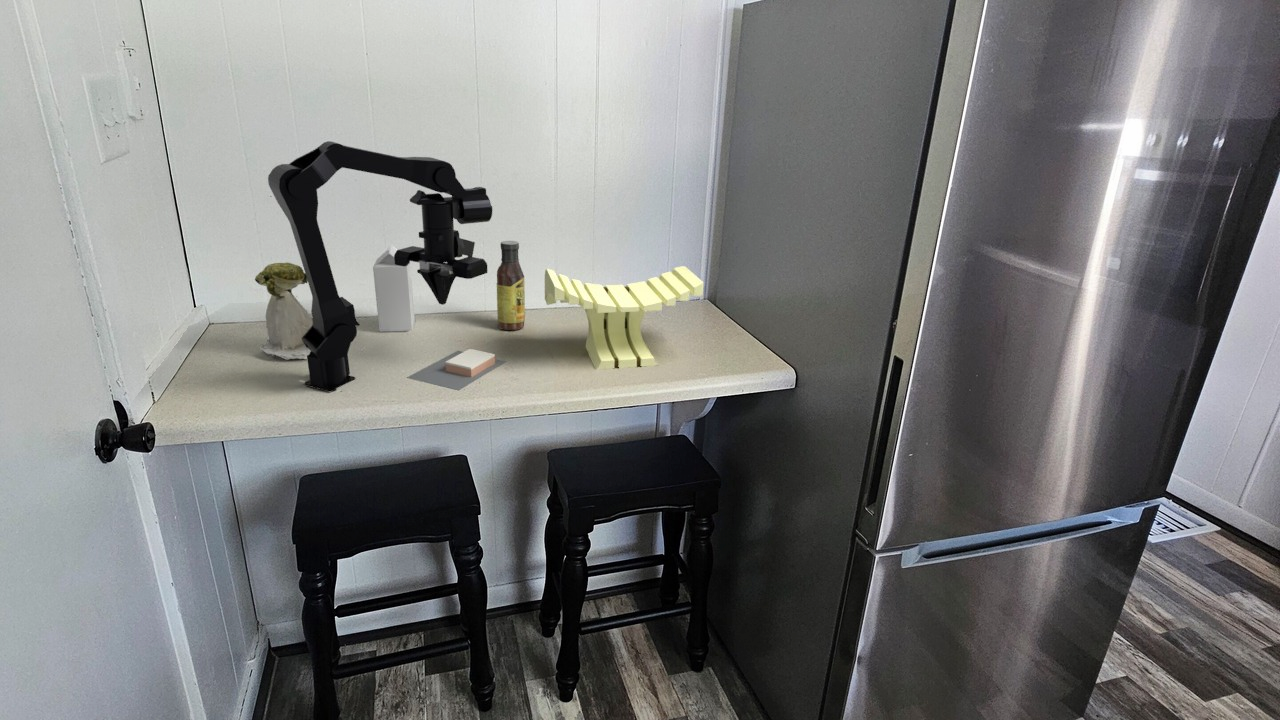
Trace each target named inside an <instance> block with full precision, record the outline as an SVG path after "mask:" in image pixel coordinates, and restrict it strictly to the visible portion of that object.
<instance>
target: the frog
mask: <svg viewBox="0 0 1280 720" xmlns="http://www.w3.org/2000/svg"><path fill="white" fill-rule="evenodd" d="M254 281H255V283H257V284H258V285H260V286H263V287H266V291H267V292H268V294H269V295H271V296H270V297H269V298H270V299H269V300H268V304H267V307H266V312H265V325H266V330H267V337H268V339H267V342H268V343H267V342H266V343H264V344H261V345H260V349H261V350H262V351H263V352H264V353H265V354H267V355H268V356H272V357H274V356H275V355H276V357H279V358H282V359H285V360H290V359H292V360H295V359H299V360H302V359H303V360H307V355H309V354H310V352H311V351H310V350H309V349H308V348H307V347H306V346H305V344H304V343H303V341H302V337H303V336H304V335H305V333H306V332H307V331H308V330H309V329H310V327H311V326H312V325H313V321H312V314H310V313H309V311H308V310H307V309H306V308H305V307H304V306H303V305H302V303H301V302H300V301H299V300H298V299H297V297H296V296H295V295H294V294H293V293H292V290H293V289H295V288H296V287H297V288H298V286H299V285H305V284H308V280H307V277H306V274H305V271H304V268H302V267H301V266H300V265H297V264H295V263H294V264H293V263H291V262H275V263H269V264H268V265H266V266H265V267H264V268H263V270H262V271H259V273H258V274H257V275H255V277H254Z"/></svg>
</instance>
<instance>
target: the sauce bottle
mask: <svg viewBox="0 0 1280 720" xmlns="http://www.w3.org/2000/svg"><path fill="white" fill-rule="evenodd" d="M519 248H520V243H519V242H518V241H516V240H503V241H501V242H500V250H501V263H500V265H499V266H498V268H497V271H496V281H497V282H496V306H497V307H496V309H497V311H496V314H497V325H498V328H500V329H501V330H504V331H516V330H520V329H522V328H524V327H525V320H526V310H525V309H526V307H525V305H526V302H525V301H526V300H525V299H526V295H525V293H526V292H525V275H524V272H523V270H522V267H521V265H520V262H519V261H520V259H519Z"/></svg>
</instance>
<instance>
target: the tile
mask: <svg viewBox="0 0 1280 720" xmlns="http://www.w3.org/2000/svg"><path fill="white" fill-rule="evenodd" d="M462 352H463V353H461V354H459V355H457V356H455V357H453V358H452V359H450V360H448V361H446V362H445V365H446V371H447V372H451V373H455V374H460V375H464V376H468V377H473V376H475V375H476V374H478V373H480V372H481V371H483V370H485V369H486V368H488V367H490V366H491V365H493V364H495V359H496V354H495V353H491V352H488V351H487V352H486V351H482V350H477V349H472V348H468V349H467V350H465V351H462Z"/></svg>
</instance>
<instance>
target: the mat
mask: <svg viewBox="0 0 1280 720" xmlns="http://www.w3.org/2000/svg"><path fill="white" fill-rule="evenodd" d="M463 352H464V351H462V350H456V351H455V352H452V353H451V354H449V355H447V356H445V357H443V358H441V359H439V360H438V361H436V362H433V363H432V364H430V365H428V366H426V367H424V368H422V369H419V370H418V371H416V372H415V373H412V374H410V375H409V376H407V377H406V378H407V379H411V380H414V381H419V382H423V383H427V384H430V385H435V386H439V387H443V388H447V389H451V390H457V391H460V390H462V389H464V388H465V387H467V386H468V385H470V384H472V383H474V382H476V381H477V380H479V379H481V378H482V377H483V376H485V375H487V374H489V373H491V372H492V371H493V370H495V369H497V368H499V367H500V366H502V365H504V364H505V363H507V361H506V360H502V359H498V358H495V364H493V365H491V366H490V367H488V368H486V369H485V370H483V371H481V372H480V373H478V374H476V375H475V376H473V377H468V376H464V375H460V374H455V373H451V372H447V371H446V365H445V362H446V361H448V360H450V359H452V358H453V357H455V356H457V355H459V354H461V353H463Z"/></svg>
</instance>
